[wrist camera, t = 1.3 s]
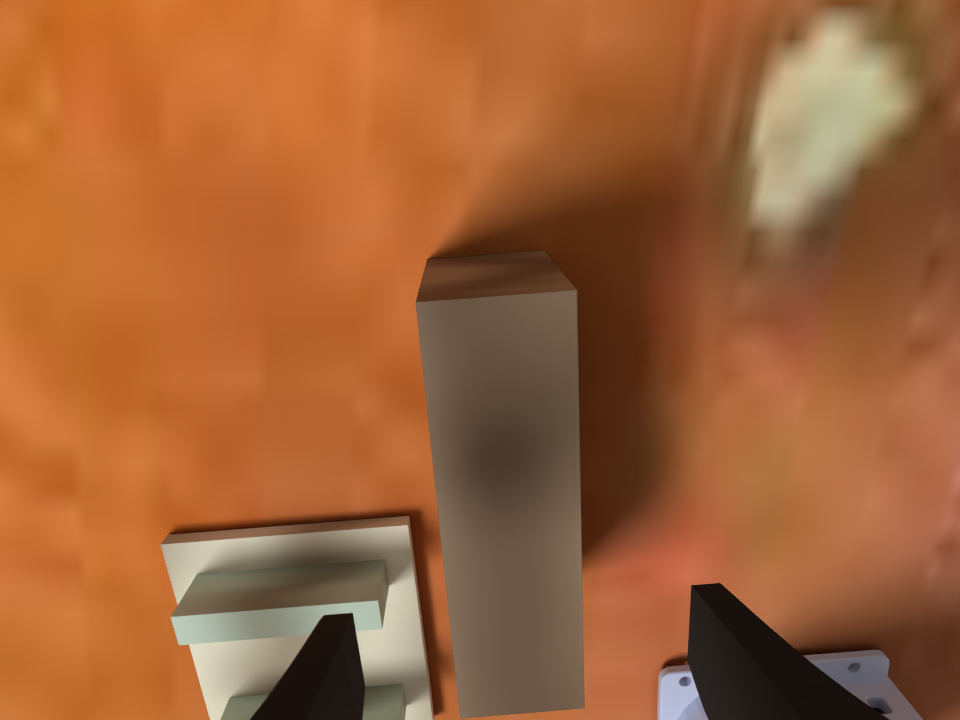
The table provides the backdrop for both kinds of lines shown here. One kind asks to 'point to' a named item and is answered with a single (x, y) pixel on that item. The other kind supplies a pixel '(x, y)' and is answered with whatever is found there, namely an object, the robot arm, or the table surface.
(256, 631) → the rail stand
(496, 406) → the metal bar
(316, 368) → the table surface
